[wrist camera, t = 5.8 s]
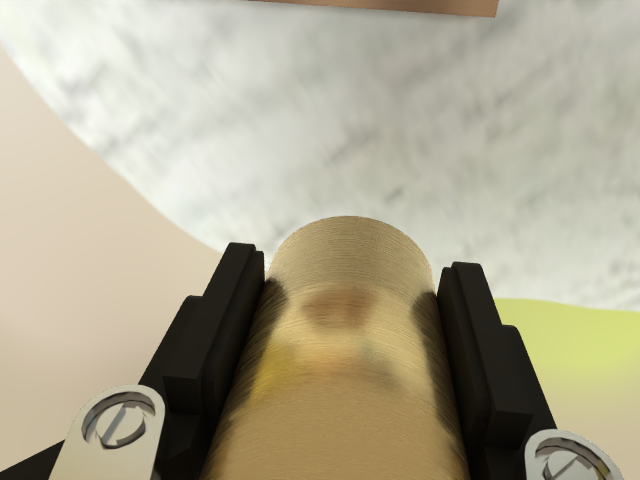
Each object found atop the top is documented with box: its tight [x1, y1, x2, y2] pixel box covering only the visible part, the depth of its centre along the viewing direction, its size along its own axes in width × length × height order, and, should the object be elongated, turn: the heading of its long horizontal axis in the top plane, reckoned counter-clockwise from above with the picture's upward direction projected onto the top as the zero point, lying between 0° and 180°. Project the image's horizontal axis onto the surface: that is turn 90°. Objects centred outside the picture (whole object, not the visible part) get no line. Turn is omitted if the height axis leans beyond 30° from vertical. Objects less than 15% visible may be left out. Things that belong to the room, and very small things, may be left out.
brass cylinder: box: [199, 216, 471, 480], centre depth 8 cm, size 4×4×7 cm
